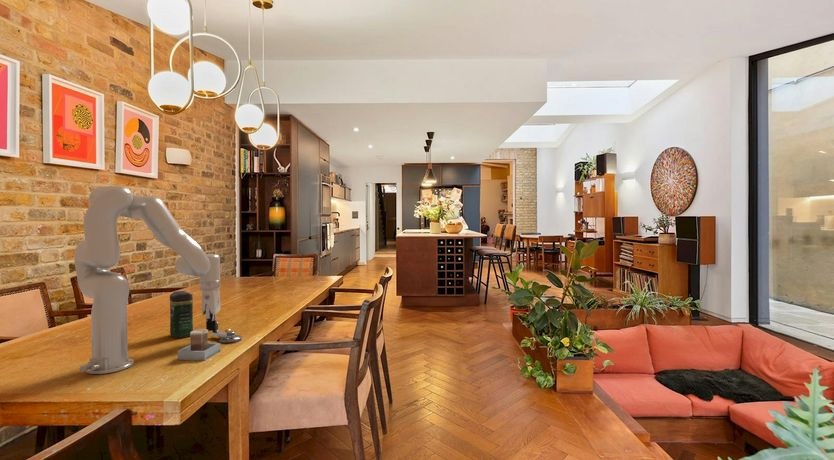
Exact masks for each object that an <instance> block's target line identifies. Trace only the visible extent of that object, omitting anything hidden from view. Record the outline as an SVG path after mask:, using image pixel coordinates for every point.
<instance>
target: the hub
mask: <svg viewBox="0 0 834 460" xmlns="http://www.w3.org/2000/svg"><path fill="white" fill-rule="evenodd" d="M241 341H242V335H240V334H235V337H232V338H225V337H220V338H219V343H220V344H235V343H238V342H241Z"/></svg>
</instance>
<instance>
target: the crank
mask: <svg viewBox="0 0 834 460" xmlns="http://www.w3.org/2000/svg"><path fill="white" fill-rule="evenodd" d="M215 320H216V329H215V331H210V335H211V336H216V337H220V338H221V337H225V338H232V337H235V335H236V332H235V330H231V331H229V332H225V331H220V330H219V322H221V319H220V318H217V319H215Z"/></svg>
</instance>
